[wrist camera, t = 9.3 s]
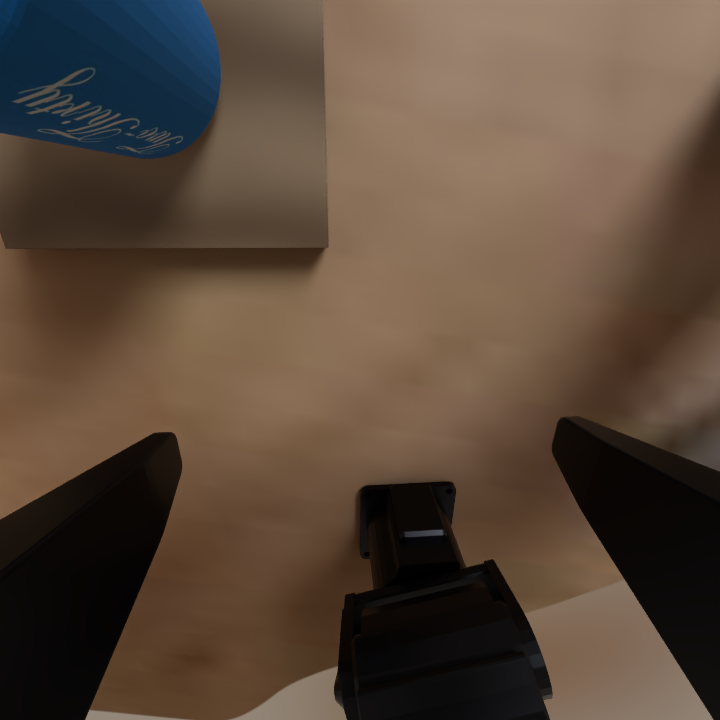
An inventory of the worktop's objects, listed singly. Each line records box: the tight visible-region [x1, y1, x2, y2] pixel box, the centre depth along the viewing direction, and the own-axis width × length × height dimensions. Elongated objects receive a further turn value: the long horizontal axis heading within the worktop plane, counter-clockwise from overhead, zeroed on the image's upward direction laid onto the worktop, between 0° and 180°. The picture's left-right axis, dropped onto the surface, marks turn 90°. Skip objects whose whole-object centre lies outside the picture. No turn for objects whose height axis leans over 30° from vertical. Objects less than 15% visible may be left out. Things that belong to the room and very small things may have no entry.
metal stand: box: [0, 0, 328, 249], centre depth 15 cm, size 14×14×2 cm
